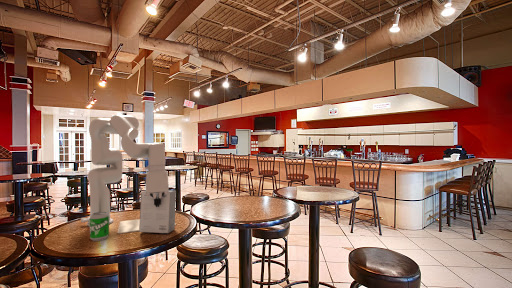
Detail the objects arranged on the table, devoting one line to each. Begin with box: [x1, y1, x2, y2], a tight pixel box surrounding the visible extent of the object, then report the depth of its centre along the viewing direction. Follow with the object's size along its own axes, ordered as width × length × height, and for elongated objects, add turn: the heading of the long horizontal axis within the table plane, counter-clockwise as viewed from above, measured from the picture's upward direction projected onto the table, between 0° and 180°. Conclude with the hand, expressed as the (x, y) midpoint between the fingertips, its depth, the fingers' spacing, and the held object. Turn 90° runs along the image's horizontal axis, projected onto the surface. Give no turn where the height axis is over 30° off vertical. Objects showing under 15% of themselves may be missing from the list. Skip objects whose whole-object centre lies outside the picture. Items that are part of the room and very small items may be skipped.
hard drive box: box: [138, 190, 177, 234], centre depth 125 cm, size 16×8×20 cm, turn 84°
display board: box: [116, 218, 177, 235], centre depth 138 cm, size 28×22×1 cm
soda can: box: [89, 212, 110, 242], centre depth 116 cm, size 8×8×12 cm
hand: (157, 206), depth 119 cm, fingers closed
